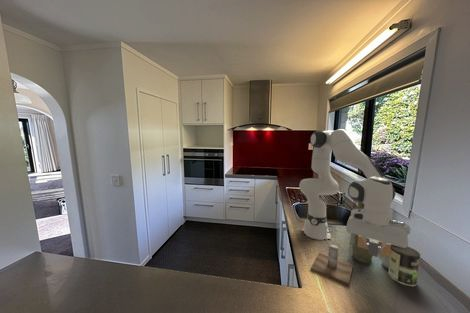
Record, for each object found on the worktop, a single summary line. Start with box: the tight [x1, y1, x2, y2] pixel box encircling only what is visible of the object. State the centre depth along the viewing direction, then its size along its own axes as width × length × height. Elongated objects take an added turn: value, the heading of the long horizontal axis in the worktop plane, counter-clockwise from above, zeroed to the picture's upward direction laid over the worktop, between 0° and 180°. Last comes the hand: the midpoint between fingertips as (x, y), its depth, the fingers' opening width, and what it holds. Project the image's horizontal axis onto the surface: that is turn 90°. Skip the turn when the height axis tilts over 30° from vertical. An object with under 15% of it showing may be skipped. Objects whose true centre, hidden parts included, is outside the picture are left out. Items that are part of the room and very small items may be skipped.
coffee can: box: [387, 244, 421, 287], centre depth 87 cm, size 10×10×14 cm
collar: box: [357, 236, 391, 258], centre depth 81 cm, size 15×11×5 cm
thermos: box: [352, 202, 373, 264], centre depth 101 cm, size 9×12×35 cm
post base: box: [310, 244, 354, 287], centre depth 92 cm, size 16×16×12 cm
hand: (373, 249), depth 77 cm, fingers closed on collar, 3 cm apart
